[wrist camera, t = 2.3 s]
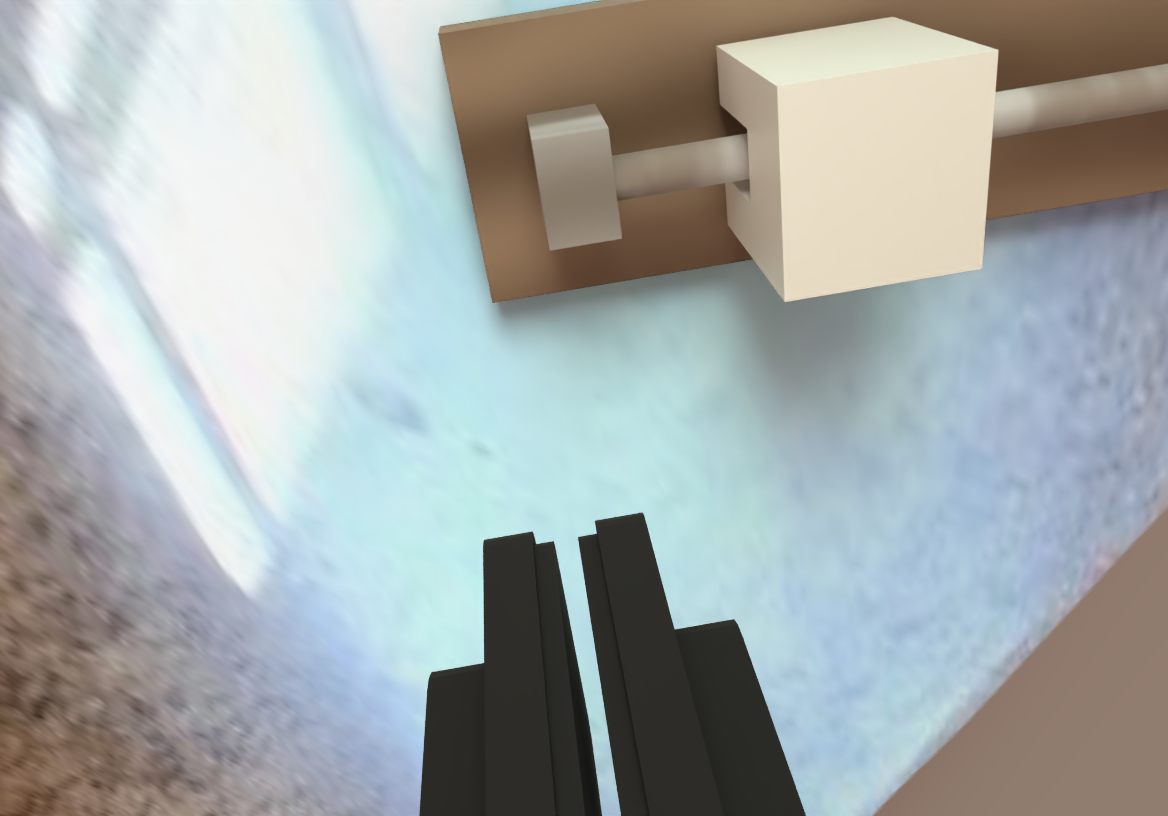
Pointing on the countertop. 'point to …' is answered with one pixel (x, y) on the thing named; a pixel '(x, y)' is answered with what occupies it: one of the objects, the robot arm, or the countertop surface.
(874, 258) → the sleeve
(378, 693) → the countertop surface
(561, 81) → the linear slide rail
